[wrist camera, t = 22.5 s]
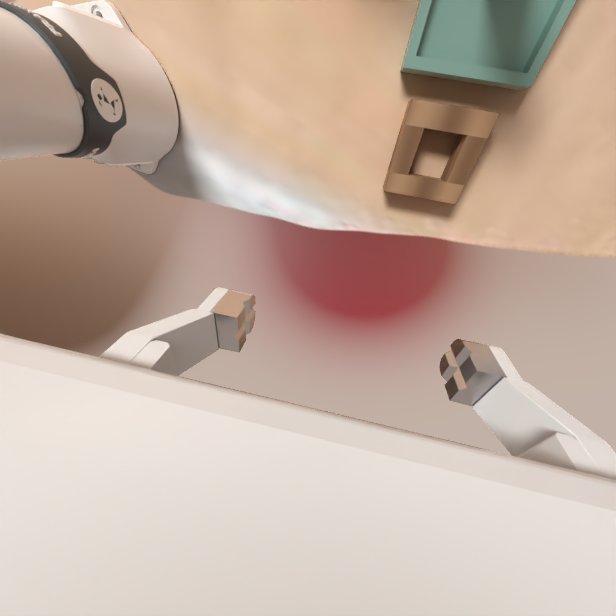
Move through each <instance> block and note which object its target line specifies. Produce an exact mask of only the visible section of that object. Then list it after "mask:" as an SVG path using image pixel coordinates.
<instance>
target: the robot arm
mask: <svg viewBox="0 0 616 616" xmlns="http://www.w3.org/2000/svg"><path fill="white" fill-rule="evenodd" d="M101 14H102V16H103V18H101ZM178 124H179V121H178V110H177V104H176V100H175V96H174V93H173V90H172V88H171V85H170V83H169V80H168V78H167V76H166V74H165V73H164V71H163V69H162V67H161V66H160V64H159V63H158V61H157V60H156V59H155V57H154V56H153V55H152V53H151V52H150V51H149V50H148V49H147V48H146V47H145V46H144V45H143V44H142V43H141V42H140V41H139V40H138V39H137V38H136V37H135V36H134V34H133V33H132V32H131V30H130V29H129V27H128V25H127V23H126V22H125V20H124V18H123V17H122V15H121V13H120V12H119V11H118V9H117V8H116V7H115V6H114V5H113V4H112V3H110V2H108V1H105V0H97V1H92V2H87V3H82V4H77V5H72V6H69V5H66V4H63V3H60V2H55V1H54V2H53V6H46V7H42V8H39V9H36V10H33V11H31V10H29V9H27V8H24V7H22V6H19V5H16V4H13V3H10V2H9V3H6V2H3V1H0V161H4V160H11V159H18V158H26V157H34V156H43V155H56V156H59V157H70V158H83V159H92V158H93V160H94V162H96V163H99V164H105V163H106V164H107V165H108V166H128V167H130V168H132V169H135V170H137V171H140V172H142V173H145V174H152V173H154V172H155V170H156V168H157V165H158V162H159V160H160V159H161V158H162V157H163V156H165V155H166V154H167V153H168V152H169V151H170V150H171V149H172V147H173V145H174V143H175V141H176V138H177V134H178ZM254 304H255V296H254V295H252V294H248V293H244V292H240V291H236V290H231V289H227V288H222V287H217V288H216V289H214V291H213V292H212V293H211V294H210V295H209V296H208V297H207V298H206V299H205V300H204V302H203V303H202V304H201V305H200V306H199V307H198V308H197V309H190V310H188V311H185V312H182V313H179V314H176V315H173V316H171V317H168V318H165V319H162V320H160V321H157V322H154V323H151V324H149V325H146V326H143V327H140V328H138V329H135V330H132V331H129V332H127V333H126V334H125V335H123V336H122V337H121V338H120V339H119V340H118V341H117V342H116V343H114V344H113V345H112V346H111V347H110V348H109V349H108V350H106V351H105V352H104V353H103V354H102V355H100V356H99V357H95V356H91V355H87V354H82V353H78V352H74V351H70V350H65V349H62V348H57V347H53V346H49V345H45V344H40V343H36V342H32V341H28V340H24V339H19V338H15V337H11V336H7V335H3V334H0V616H616V453H615V452H614V451H613V450H612V448H611V447H610V446H609V445H608V443H606V442H605V441H604V440H602V439H601V438H600V437H599V436H597V435H596V434H595V433H593V432H592V431H591V430H589V429H588V428H587V427H585V426H584V425H583V424H581V423H580V422H579V421H577V420H576V419H575V418H574V417H572V416H571V415H570V414H568V413H567V412H566V411H564V410H563V409H562V408H560V407H559V406H558V405H557V404H555V403H554V402H553V401H551V400H550V399H549V398H547V397H546V396H545V395H543V394H542V393H541V392H539V391H538V390H537V389H536V388H534V387H533V386H532V385H530V384H529V383H526V382H523V380H522V379H521V377H520V376H519V374H518V372H517V371H516V369H515V368H514V366H513V365H512V363H511V362H510V360H509V359H508V357H507V356H506V354H505V353H504V351H503V350H502V349H501V348H499V347H497V346H492V345H487V344H479V343H474V342H470V341H465V340H461V339H457V340H455V341H454V342H453V343H452V344H451V351H449V352H446V353H445V354H444V355H443V357H442V358H441V361H440V372H441V376H442V377H443V378H444V379H445V380H446V381H447V383H446V384H445V388H446V390H447V393H448V396H449V400H450V401H454V402H458V403H462V404H466V405H469V406H473V407H472V408H473V409H474V410H475V411H476V412H477V414H479V416H480V417H481V418H482V420H483V421H484V422H485V423H486V424H487V426H488V427H489V428H490V429H491V431H492V432H493V433H494V434H495V435H496V437H497V438H498V439H499V440H500V441H501V442H502V444H503V445H504V446H505V447H506V449H507V450H508V451H509V452H510V453H511V455H507V454H502V453H498V452H495V451H491V450H486V449H482V448H478V447H474V446H469V445H465V444H461V443H457V442H452V441H448V440H444V439H440V438H436V437H432V436H427V435H423V434H419V433H414V432H410V431H406V430H402V429H397V428H393V427H389V426H385V425H381V424H377V423H373V422H368V421H364V420H360V419H356V418H351V417H347V416H343V415H339V414H335V413H331V412H327V411H322V410H318V409H314V408H309V407H305V406H301V405H297V404H293V403H289V402H284V401H280V400H276V399H272V398H268V397H264V396H259V395H255V394H251V393H247V392H243V391H238V390H234V389H230V388H226V387H221V386H217V385H213V384H209V383H204V382H200V381H196V380H192V379H188V378H184V377H179V375H180V374H181V373H183V372H184V371H186V370H187V369H189V368H190V367H192V366H194V365H195V364H197V363H198V362H200V361H201V360H203V359H204V358H206V357H207V356H209V355H211V354H212V353H214V352H215V351H217V350H218V349H219V348H221V349H226V350H231V351H236V352H240V350H241V348H242V347H243V345H244V343H245V341H246V335H247V334H248V333H250V332H251V330H252V328H253V324H254V320H255V311H254V309H253V306H254Z"/></svg>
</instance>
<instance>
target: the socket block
mask: <svg viewBox="0 0 616 616" xmlns="http://www.w3.org/2000/svg"><path fill="white" fill-rule="evenodd" d="M499 114H500V113H495V112H489V111H483V110H477V109H471V108H465V107H459V106H453V105H447V104H441V103H435V102H429V101H422V100H416V99H412V100H410V101H409V102H408V105H407V109H406V112H405V115H404V119H403V122H402V125H401V129H400V132H399V135H398V139H397V142H396V145H395V149H394V152H393V155H392V159H391V162H390V165H389V169H388V172H387V175H386V179H385V182H384V185H383V188H384V191H387V192H392V193H398V194H403V195H408V196H414V197H419V198H425V199H430V200H435V201H441V202H446V203H451V204H456V202H457V200H458V198H459V196H460V194H461V192H462V190H463V187H464V185H465V183H466V181H467V179H468V177H469V175H470V173H471V171H472V169H473V167H474V165H475V163H476V161H477V159H478V157H479V155H480V153H481V151H482V149H483V147H484V145H485V143H486V141H487V139H488V137H489V134H490V132H491V130H492V128H493V126H494V124H495V122H496V120H497V118H498V116H499ZM424 129H429V130H435V131H440V132H446V133H452V134H458V135H459V137H458V139H457V141H456V144H455V146H454V148H453V151H452V153H451V155H450V158H449V160H448V162H447V165H446V167H445V169H444V172H443V174H442V176H441V179H440V178H434V177H429V176H423V175H418V174H412V173H409V171H410V168H411V165H412V162H413V159H414V157H415V154H416V151H417V148H418V145H419V142H420V139H421V137H422V134H423V131H424Z"/></svg>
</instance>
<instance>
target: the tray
mask: <svg viewBox="0 0 616 616" xmlns="http://www.w3.org/2000/svg"><path fill="white" fill-rule="evenodd" d="M575 2H576V0H419V4H418V8H417V12H416V15H415V19H414V23H413V26H412V30H411V34H410V38H409V41H408V45H407V49H406V52H405V56H404V60H403V64H402V67H401V71H400V72H407V73H413V74H419V75H426V76H432V77H438V78H444V79H451V80H457V81H463V82H469V83H476V84H482V85H488V86H495V87H501V88H507V89H513V90H522V89H526V88H530V87H531V86H532V84H533V82H534V80H535V78H536V76H537V74H538V73H539V71H540V69H541V67H542V65H543V63H544V61H545V59H546V57H547V55H548V54H549V52H550V50H551V48H552V46H553V44H554V42H555V40H556V38H557V36H558V34H559V33H560V31H561V29H562V27H563V25H564V23H565V21H566V19H567V17H568V15H569V14H570V12H571V10H572V8H573V6H574V4H575Z"/></svg>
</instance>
